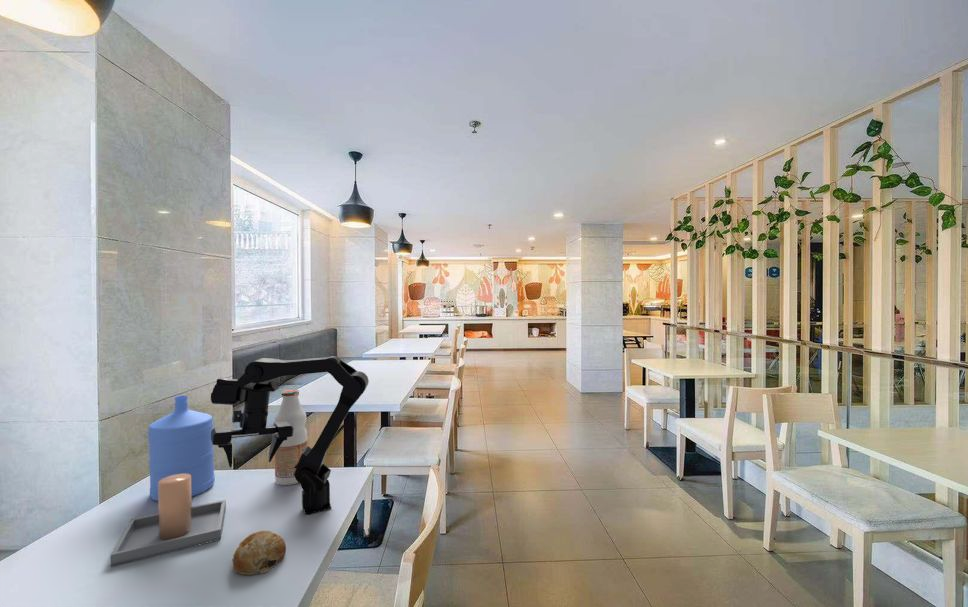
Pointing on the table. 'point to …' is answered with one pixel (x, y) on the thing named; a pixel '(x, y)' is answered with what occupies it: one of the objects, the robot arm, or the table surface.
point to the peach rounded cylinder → (174, 506)
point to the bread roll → (259, 553)
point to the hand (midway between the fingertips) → (250, 464)
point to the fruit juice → (290, 438)
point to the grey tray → (146, 542)
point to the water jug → (182, 448)
